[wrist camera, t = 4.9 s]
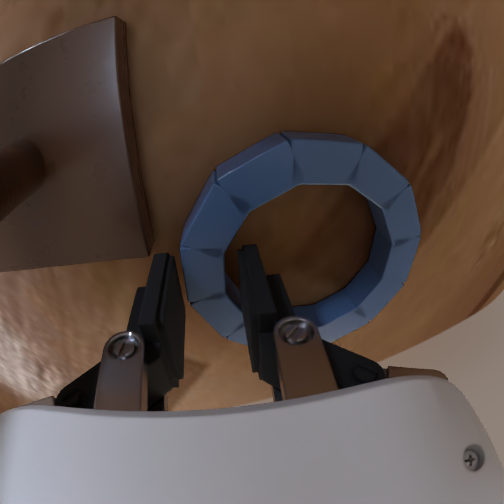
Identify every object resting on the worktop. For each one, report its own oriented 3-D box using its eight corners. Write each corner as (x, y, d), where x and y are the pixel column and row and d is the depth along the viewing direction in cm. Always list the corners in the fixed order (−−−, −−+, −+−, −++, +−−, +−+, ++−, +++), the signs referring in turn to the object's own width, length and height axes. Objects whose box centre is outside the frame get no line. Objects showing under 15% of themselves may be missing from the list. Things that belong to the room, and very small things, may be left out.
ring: (419, 144, 11) (441, 154, 9) (373, 316, 16) (384, 335, 15) (175, 134, 10) (168, 142, 8) (198, 334, 15) (198, 358, 14)
